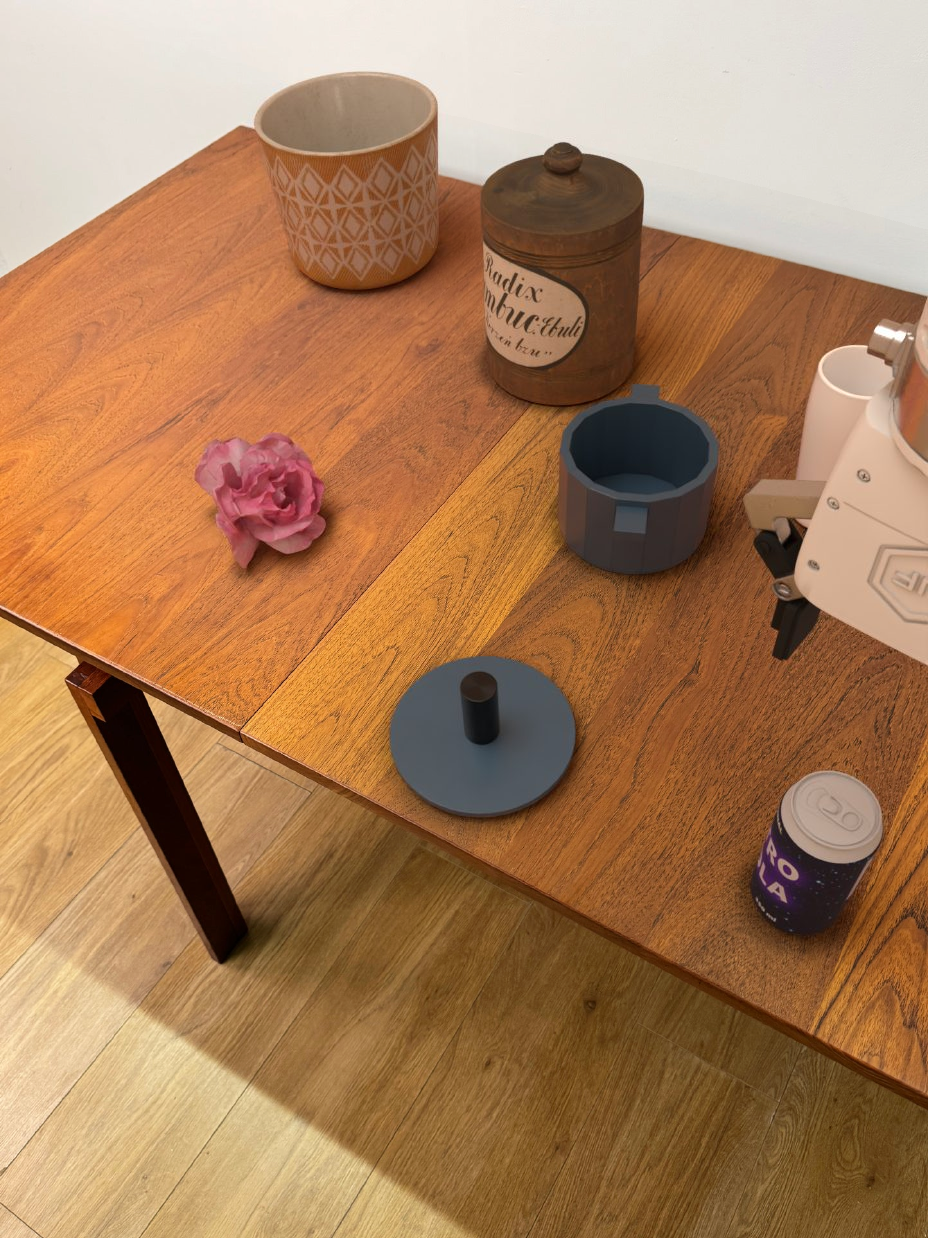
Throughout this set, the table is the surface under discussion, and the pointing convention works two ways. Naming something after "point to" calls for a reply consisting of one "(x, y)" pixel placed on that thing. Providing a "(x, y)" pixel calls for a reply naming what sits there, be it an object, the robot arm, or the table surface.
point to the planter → (354, 175)
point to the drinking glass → (837, 407)
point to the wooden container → (561, 274)
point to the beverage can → (816, 851)
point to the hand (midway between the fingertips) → (885, 691)
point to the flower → (262, 494)
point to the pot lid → (482, 736)
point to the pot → (636, 482)
